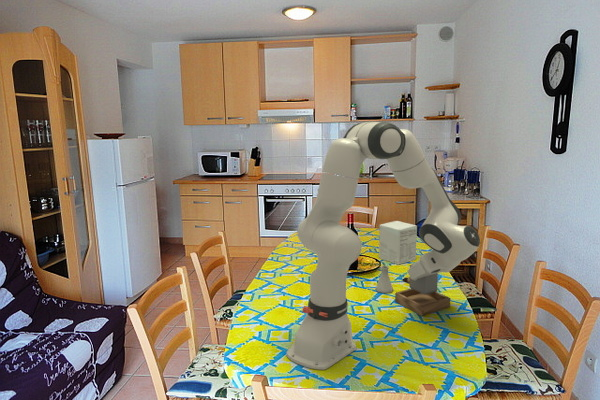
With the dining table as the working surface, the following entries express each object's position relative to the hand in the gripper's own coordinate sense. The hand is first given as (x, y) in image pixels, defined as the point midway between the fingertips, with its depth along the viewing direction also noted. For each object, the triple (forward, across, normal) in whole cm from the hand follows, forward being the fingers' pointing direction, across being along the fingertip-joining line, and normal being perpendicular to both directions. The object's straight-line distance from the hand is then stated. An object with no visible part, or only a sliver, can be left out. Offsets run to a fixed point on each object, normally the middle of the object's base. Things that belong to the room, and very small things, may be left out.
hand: (422, 276), depth 150 cm
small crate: (+3, 0, +4) cm, 5 cm away
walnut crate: (+7, 0, +8) cm, 11 cm away
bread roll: (+20, -13, -3) cm, 24 cm away
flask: (+20, +4, -4) cm, 20 cm away
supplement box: (+38, -26, -22) cm, 52 cm away
